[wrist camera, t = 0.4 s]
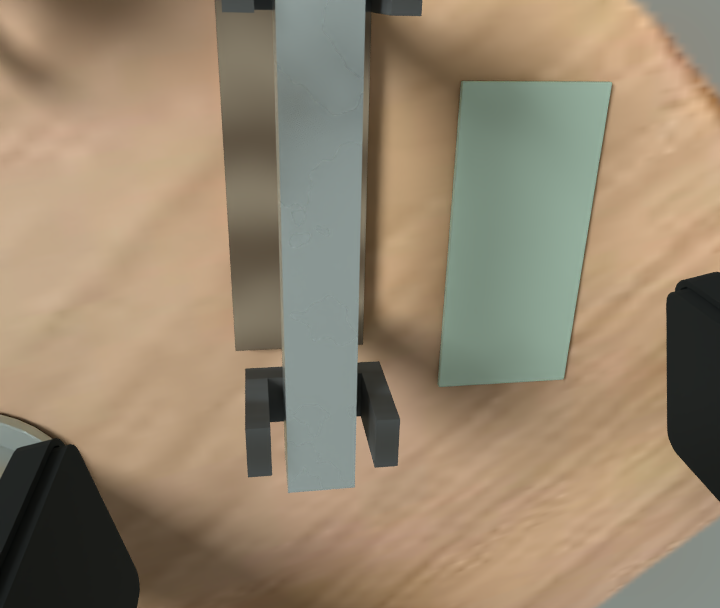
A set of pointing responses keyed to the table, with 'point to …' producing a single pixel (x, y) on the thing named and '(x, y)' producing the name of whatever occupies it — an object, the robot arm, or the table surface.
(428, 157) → the table surface
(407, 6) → the hook stand
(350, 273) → the rail
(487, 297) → the mat
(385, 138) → the table surface
